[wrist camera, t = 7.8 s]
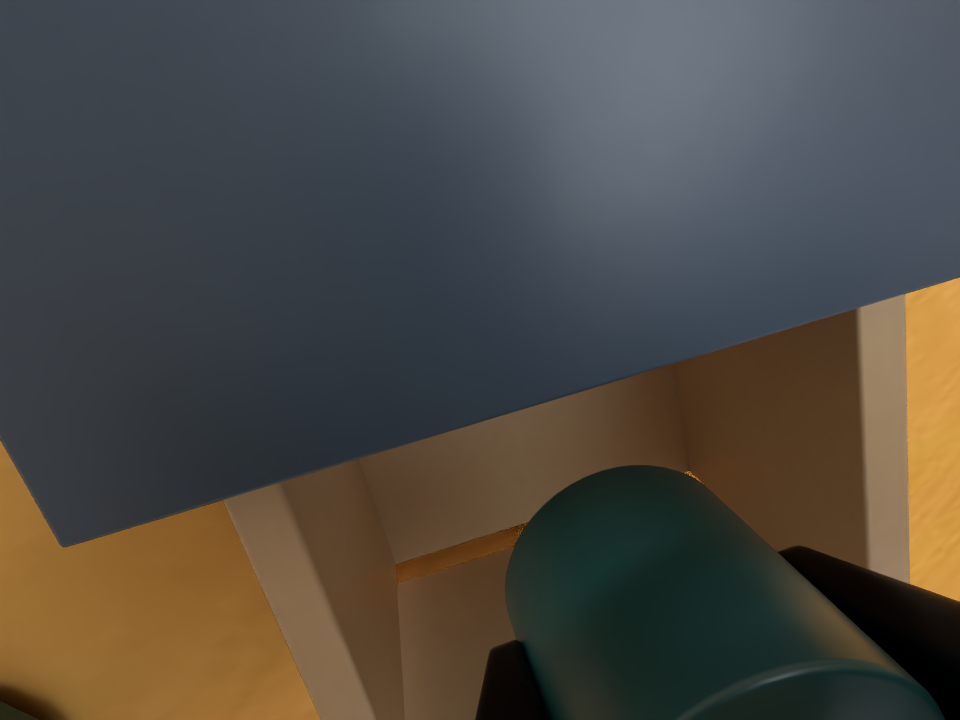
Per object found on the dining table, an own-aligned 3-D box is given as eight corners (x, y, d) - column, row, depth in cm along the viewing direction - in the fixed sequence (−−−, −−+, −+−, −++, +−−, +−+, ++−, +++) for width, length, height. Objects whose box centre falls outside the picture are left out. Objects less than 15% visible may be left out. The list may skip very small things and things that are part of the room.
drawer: (731, 542, 19) (955, 770, 12) (382, 657, 18) (388, 986, 11) (664, 37, 14) (969, -109, 7) (189, 157, 13) (-34, 133, 6)
